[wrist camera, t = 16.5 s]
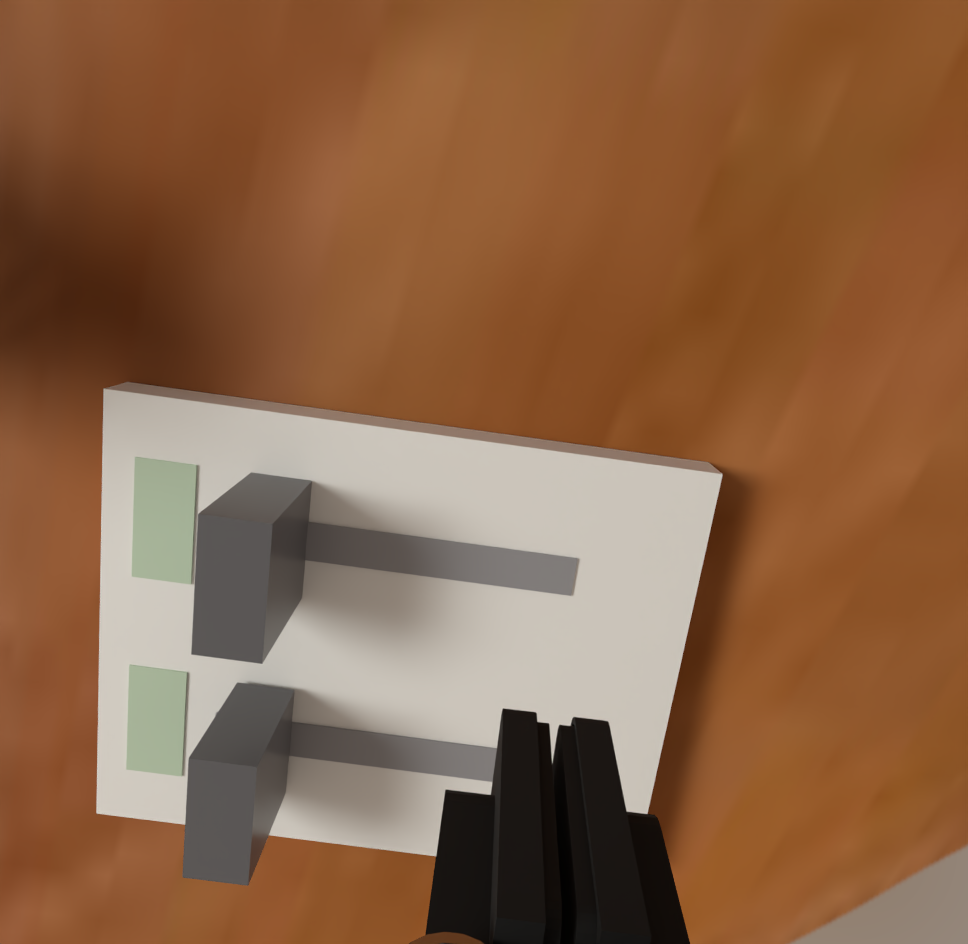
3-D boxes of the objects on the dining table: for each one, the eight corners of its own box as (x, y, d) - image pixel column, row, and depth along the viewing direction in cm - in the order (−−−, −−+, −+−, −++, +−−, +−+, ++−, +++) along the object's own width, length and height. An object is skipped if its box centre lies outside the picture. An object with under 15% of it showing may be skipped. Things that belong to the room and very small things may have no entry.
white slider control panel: (708, 462, 31) (773, 516, 24) (625, 848, 36) (658, 992, 29) (128, 382, 31) (15, 412, 24) (118, 784, 36) (21, 913, 28)
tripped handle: (294, 689, 32) (256, 766, 27) (285, 792, 33) (248, 885, 28) (237, 682, 32) (188, 758, 27) (230, 786, 33) (182, 877, 28)
